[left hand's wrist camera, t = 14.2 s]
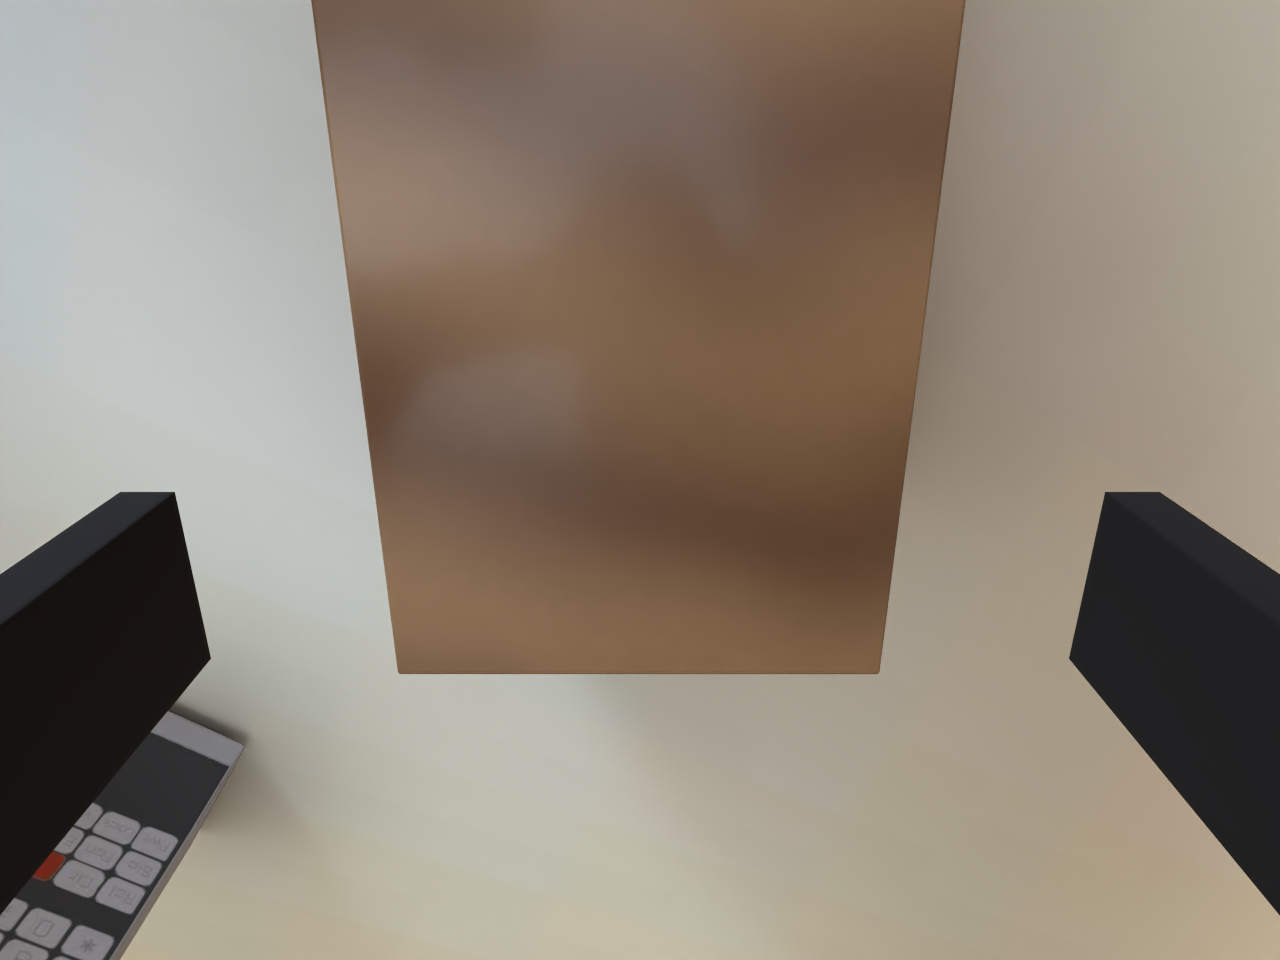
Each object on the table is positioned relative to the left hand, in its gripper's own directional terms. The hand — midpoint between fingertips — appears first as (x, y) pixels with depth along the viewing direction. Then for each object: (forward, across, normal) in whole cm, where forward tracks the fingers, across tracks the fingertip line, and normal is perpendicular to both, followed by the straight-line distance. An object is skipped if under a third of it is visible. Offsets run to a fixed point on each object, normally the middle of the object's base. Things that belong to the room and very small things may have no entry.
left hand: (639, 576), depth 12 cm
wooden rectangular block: (+12, 0, -7) cm, 14 cm away
